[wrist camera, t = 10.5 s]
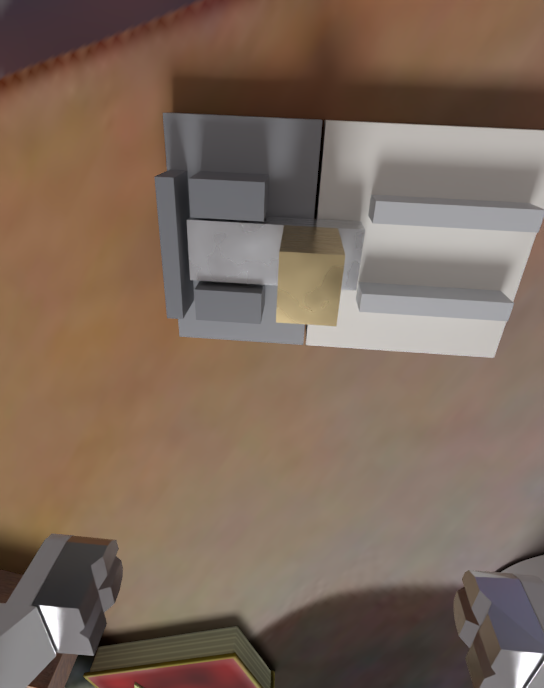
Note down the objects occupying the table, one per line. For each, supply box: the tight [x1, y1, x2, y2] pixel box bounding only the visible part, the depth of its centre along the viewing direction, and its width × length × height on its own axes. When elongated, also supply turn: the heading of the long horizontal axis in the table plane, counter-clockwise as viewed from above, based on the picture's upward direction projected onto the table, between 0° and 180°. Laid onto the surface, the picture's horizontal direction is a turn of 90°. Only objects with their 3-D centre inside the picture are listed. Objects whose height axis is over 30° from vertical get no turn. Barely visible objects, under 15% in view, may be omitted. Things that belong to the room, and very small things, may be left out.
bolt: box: [187, 216, 365, 326], centre depth 23 cm, size 10×4×7 cm, turn 88°
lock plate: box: [155, 113, 544, 358], centre depth 26 cm, size 22×14×5 cm, turn 88°
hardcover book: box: [83, 626, 275, 688], centre depth 55 cm, size 12×21×4 cm, turn 112°
